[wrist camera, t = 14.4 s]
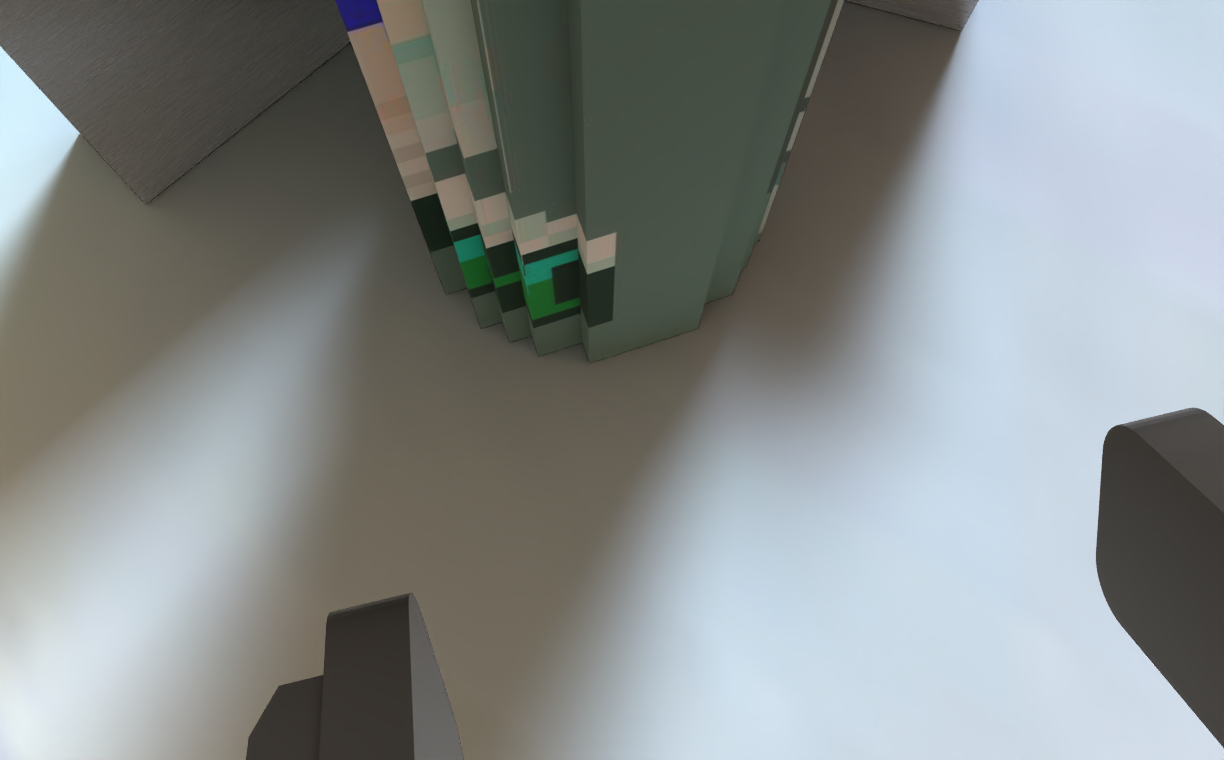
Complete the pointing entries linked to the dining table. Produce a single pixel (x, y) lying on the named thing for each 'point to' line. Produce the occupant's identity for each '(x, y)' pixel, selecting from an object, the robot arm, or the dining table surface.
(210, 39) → the v cradle
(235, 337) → the dining table surface
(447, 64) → the can
